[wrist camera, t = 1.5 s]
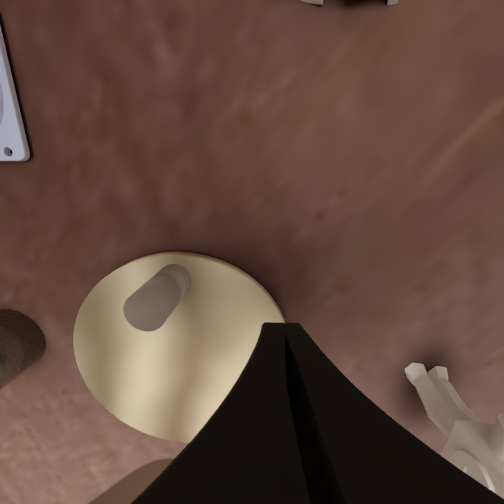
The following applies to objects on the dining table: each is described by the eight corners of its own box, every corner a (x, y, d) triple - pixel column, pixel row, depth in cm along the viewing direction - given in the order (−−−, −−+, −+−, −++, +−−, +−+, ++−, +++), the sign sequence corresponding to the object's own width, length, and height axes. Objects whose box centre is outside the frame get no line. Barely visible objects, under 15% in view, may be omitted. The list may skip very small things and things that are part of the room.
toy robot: (386, 417, 20) (562, 745, 8) (411, 335, 18) (696, 623, 6) (434, 422, 20) (678, 758, 8) (465, 341, 18) (855, 640, 6)
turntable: (102, 426, 20) (51, 504, 15) (64, 250, 16) (-23, 279, 11) (286, 433, 19) (294, 516, 14) (295, 252, 15) (312, 284, 10)
